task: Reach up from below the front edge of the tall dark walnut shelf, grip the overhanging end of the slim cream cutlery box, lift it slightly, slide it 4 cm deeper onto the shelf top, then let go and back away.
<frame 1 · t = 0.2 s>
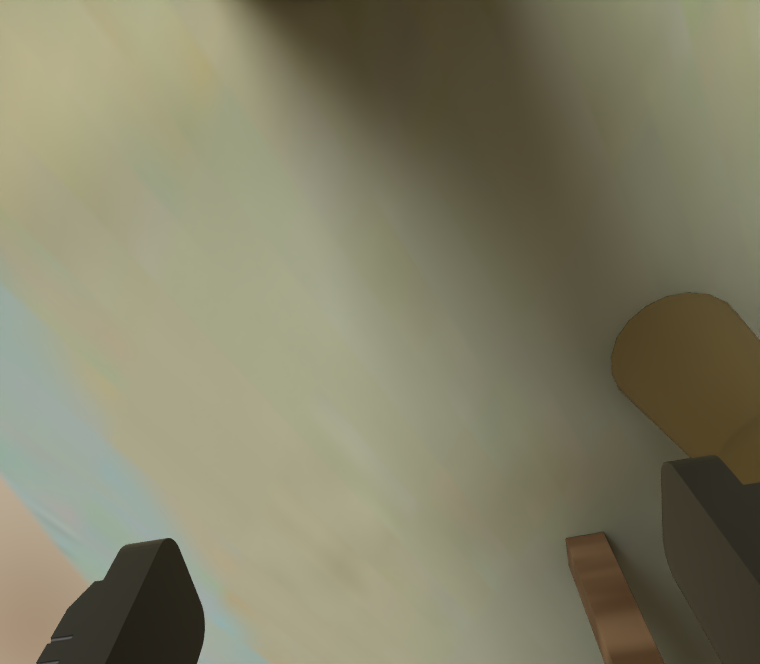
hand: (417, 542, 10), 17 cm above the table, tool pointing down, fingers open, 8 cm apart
walnut shelf: (699, 620, 36), on the table
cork: (675, 351, 29), on the table
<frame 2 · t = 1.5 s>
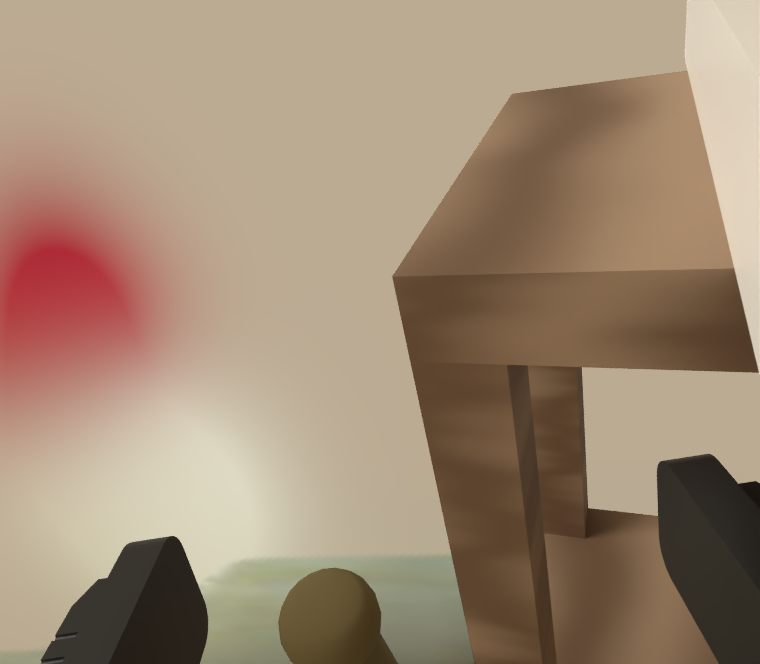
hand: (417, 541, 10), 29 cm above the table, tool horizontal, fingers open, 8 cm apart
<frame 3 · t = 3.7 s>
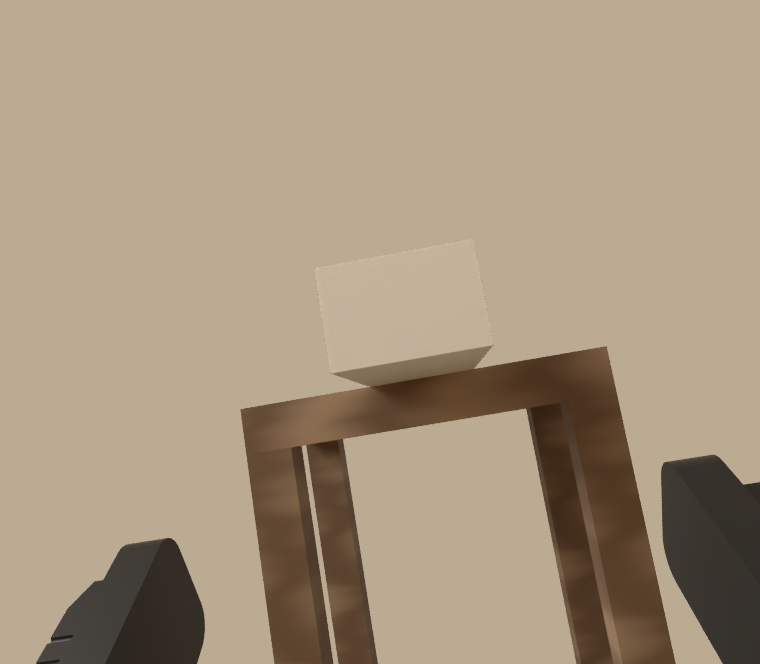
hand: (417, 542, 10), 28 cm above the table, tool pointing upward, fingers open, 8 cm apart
cutlery box: (423, 381, 30), point 32 cm above the table, touching walnut shelf
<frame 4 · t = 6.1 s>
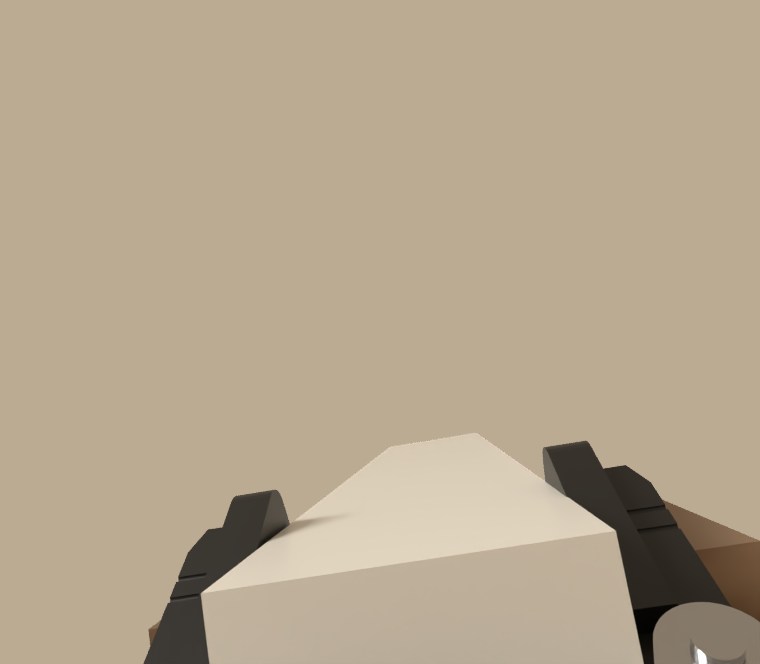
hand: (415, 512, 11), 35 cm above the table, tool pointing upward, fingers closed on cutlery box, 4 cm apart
cutlery box: (444, 559, 19), point 32 cm above the table, touching gripper, walnut shelf
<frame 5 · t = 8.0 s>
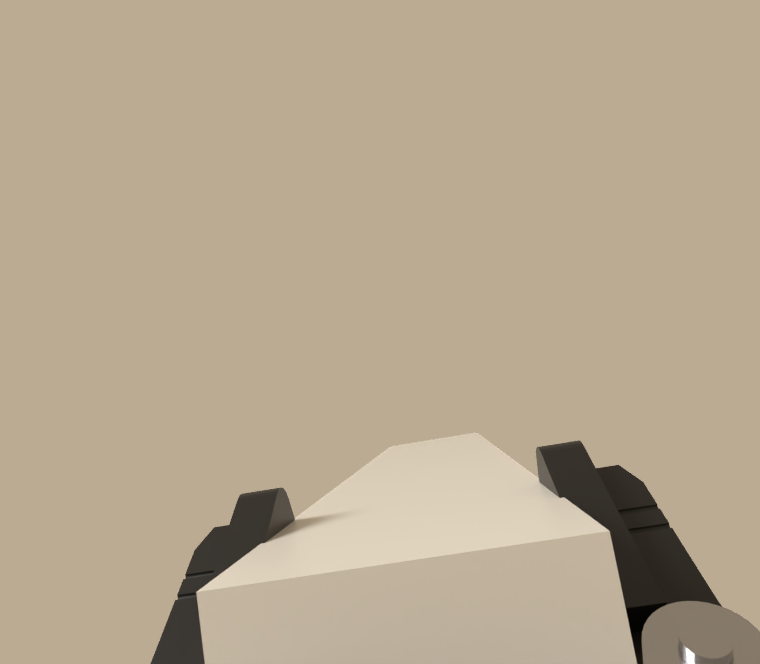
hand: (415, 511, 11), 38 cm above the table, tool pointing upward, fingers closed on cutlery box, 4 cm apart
cutlery box: (444, 559, 19), point 35 cm above the table, touching gripper
when the fingers open (36 cm above the table, at t = 9.6 s): cutlery box stays where it is, resting on walnut shelf.
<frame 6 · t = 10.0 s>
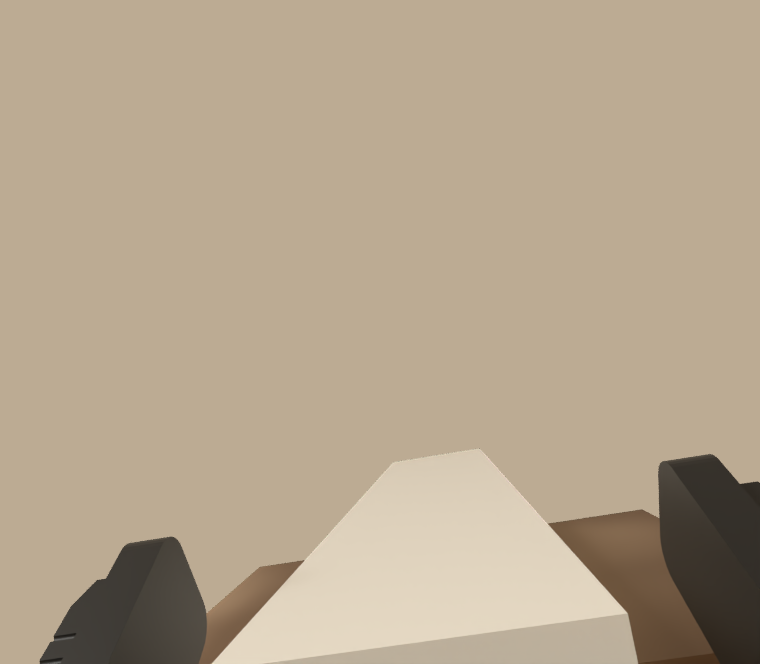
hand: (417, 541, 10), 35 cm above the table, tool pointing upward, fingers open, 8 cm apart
cutlery box: (449, 587, 19), point 32 cm above the table, touching walnut shelf
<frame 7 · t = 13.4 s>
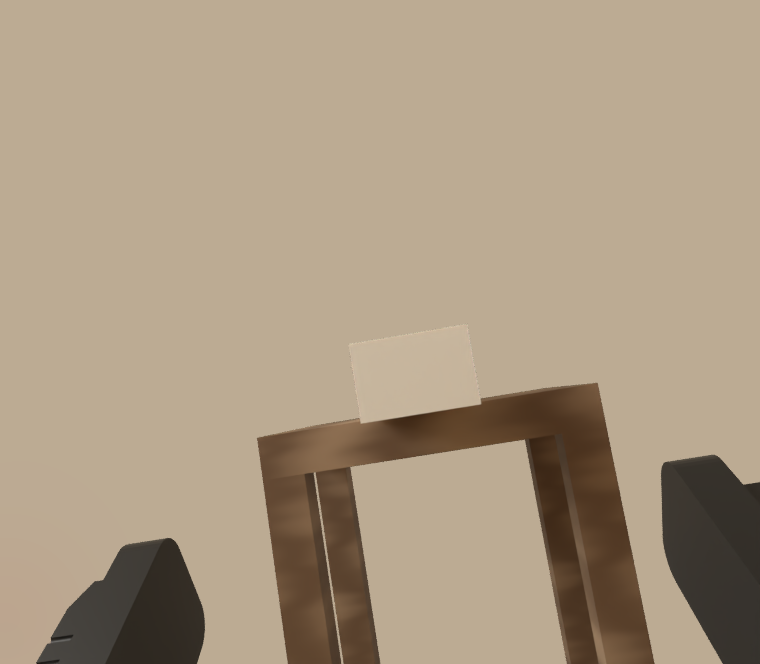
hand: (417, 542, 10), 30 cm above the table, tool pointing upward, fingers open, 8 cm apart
cutlery box: (427, 408, 36), point 32 cm above the table, touching walnut shelf
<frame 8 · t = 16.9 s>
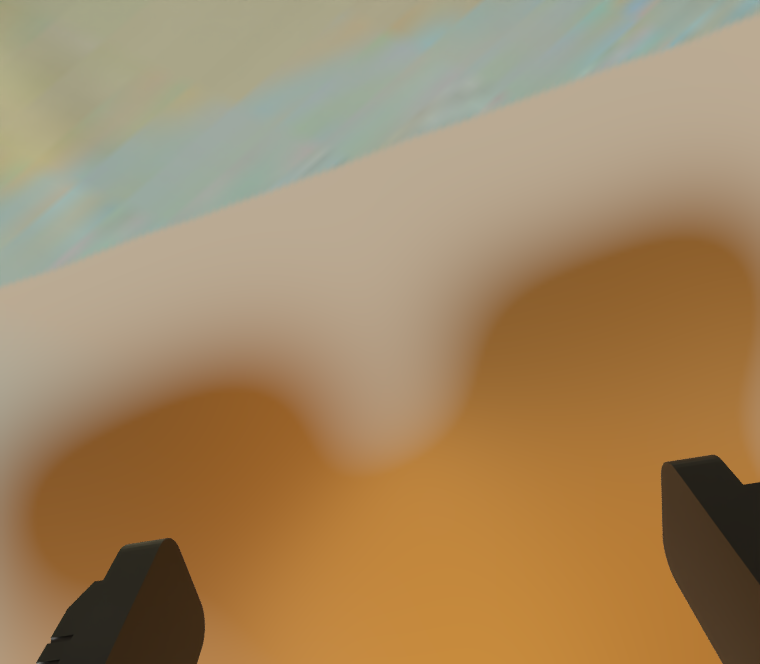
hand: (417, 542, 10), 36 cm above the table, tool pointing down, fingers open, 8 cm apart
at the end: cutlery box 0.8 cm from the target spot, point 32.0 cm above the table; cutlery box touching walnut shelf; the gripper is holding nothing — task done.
